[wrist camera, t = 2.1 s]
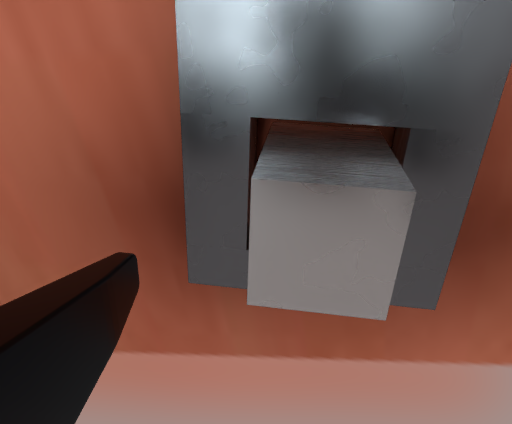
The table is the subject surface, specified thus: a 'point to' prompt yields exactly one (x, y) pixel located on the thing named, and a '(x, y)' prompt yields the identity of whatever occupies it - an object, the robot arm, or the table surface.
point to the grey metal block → (327, 221)
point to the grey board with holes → (338, 110)
